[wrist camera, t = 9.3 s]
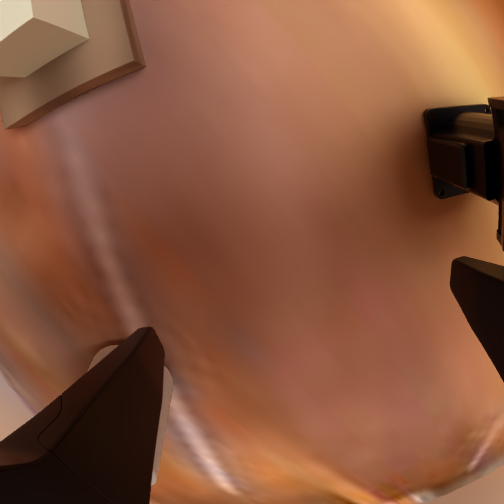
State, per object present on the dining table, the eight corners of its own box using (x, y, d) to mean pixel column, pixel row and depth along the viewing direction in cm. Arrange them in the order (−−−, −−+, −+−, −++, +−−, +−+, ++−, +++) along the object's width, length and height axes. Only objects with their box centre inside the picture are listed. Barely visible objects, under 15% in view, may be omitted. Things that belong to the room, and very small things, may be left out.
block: (76, -22, 12) (26, -54, 6) (89, 39, 14) (33, 17, 8) (15, 18, 12) (-43, 4, 6) (25, 77, 14) (-39, 75, 8)
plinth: (121, -45, 13) (106, -62, 10) (148, 67, 17) (134, 60, 14) (9, 18, 14) (-13, 12, 11) (28, 125, 18) (4, 129, 15)
